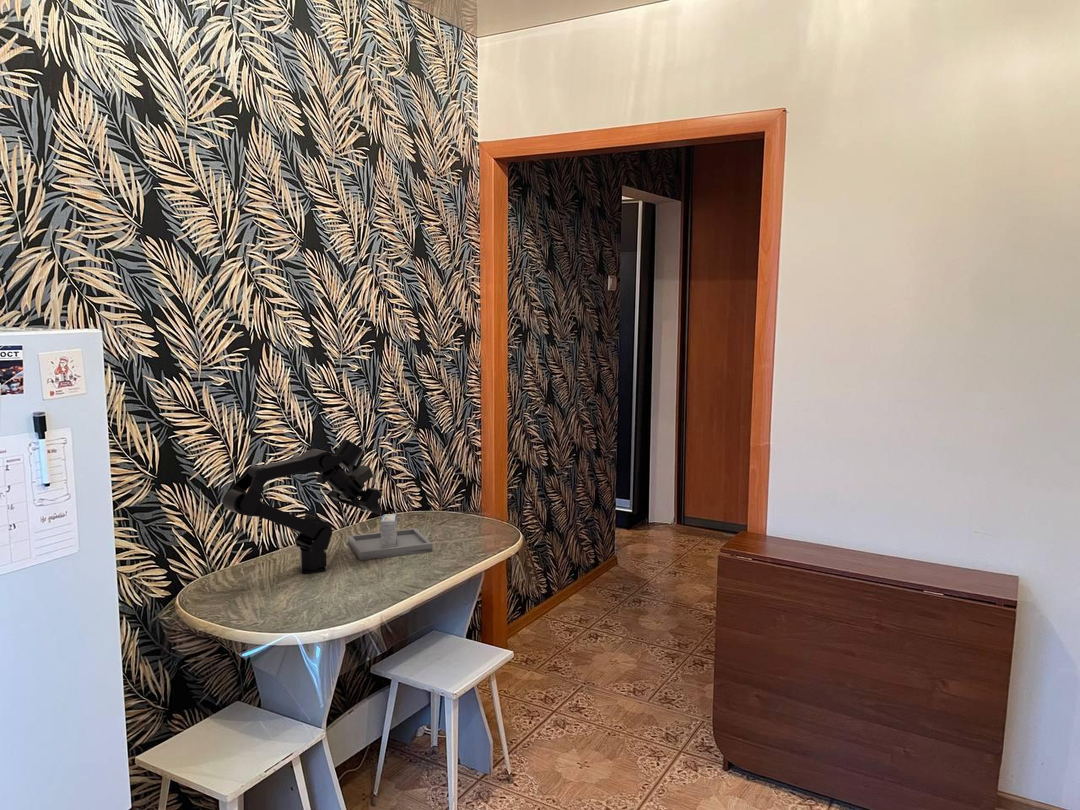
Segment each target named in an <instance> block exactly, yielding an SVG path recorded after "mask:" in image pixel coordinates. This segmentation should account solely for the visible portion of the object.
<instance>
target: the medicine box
mask: <svg viewBox="0 0 1080 810" xmlns="http://www.w3.org/2000/svg"><path fill="white" fill-rule="evenodd" d="M397 530H398V515H397V513H396V514H395V513H391V514H389V513H388V514H387V513H386V514H383V515H382V517H381V521H380V532H381V548H390V547H396V543H397Z"/></svg>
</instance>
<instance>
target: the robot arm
mask: <svg viewBox="0 0 1080 810" xmlns="http://www.w3.org/2000/svg"><path fill="white" fill-rule="evenodd" d="M363 453H364V450H363V449H362V448H361V447H360V446H359V445H357V444H355V443H354V442H352V441H351V440H350V439H345V438H344V439H343V440H342V441H341V444H340V445H339V446H338V448H337V449H336V450H335V452H330V451H326V450H323V449H318V448H313V449H309V450H307V451H305V452H302V453H301V454H300V455H299V456H296V457H292V458H288V459H283V460H279V461H276V462H275V461H274V462H271V463H266V464H261V465H253V466H251V467H250V468H249V469H248V470H247V471H246V472H245V474H244V475H243V476H241V478H239V479H238V480H236V482H235V483H234V484H233V485H232V487H231V488H230V489H229V490H227V492H226V493H225V494H224V496H223V498H222V505H223V508H225V510H227V511H230V512H232V513H235V514H239V515H242V516H246V517H247V516H248V517H255V518H256V517H258V518H262V519H264V520H266V521H270V522H272V523H275V524H277V525H280V526H284V527H286V528H289V529H291V530H294V531H295V532H297V533H298V535H297V537H296V538H295V539H294V543H295V545H296V547H297V548H299V565H298V568H299V570H300V572H301V574H303V575H305V574H309V573H310V574H311V573H317V572H318V573H319V572H320V573H321V572H325V571H326V570H327V569H326V567H327V566H328V565H327V552H326V551H327V550H328V548H329V544H330V541H331V538H332V536H333V527H332V525H330V524H329V521H327V520H324V519H322V518H319V517H318V516H314V515H311V514H309V513H305V514H304V517H300V516H297V515H294V514H291V513H289V512H286V511H283V510H281V509H278V508H275V507H273V506H270V505H268V504H266V503H265V502H264V501H262V500H261V499H260V498H261V496H262V494H263V489H264V485H265V484H266V483H267V481H272V480H276V479H280V478H283V477H284V478H285V477H289V476H292V475H296V474H300V473H317V474H316V480H315V482H316V483H318V484H322V485H326V483H328V484H329V485H330V486H331V487H332V488H331V489H332V490H331V491H330V493H329V497H330V498H332V500H333V501H335V502H336V501H337V502H338V503H342V504H345V505H347V506H352V507H353V508H354V507H355V508H357V509H360V510H365V511H368V512H371V513H375V514H378V515H382V514H383V509H382V506H381V505H380V501H379V500H380V499H381V497H382V496H383V493H382V491H381V490H379V489H378V488H374V487H368V488H366V490H363V489H364V488H365V486H366V484H365V483H366V482H367V481H369V480H370V479H373V478H374V476H375V475H374V473H373V470H372V469H371V467H370V466H367V465H362V464H361V465H360V464H359V465H358V466H357V465H356V463H357V461H358V460H359V459H360V457H361V456H362V455H363ZM345 469H348V472H347V471H346V470H345Z"/></svg>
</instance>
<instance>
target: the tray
mask: <svg viewBox="0 0 1080 810" xmlns="http://www.w3.org/2000/svg"><path fill="white" fill-rule="evenodd" d="M347 545H348V546H349V547H350V549H351V550H352V551H353V553H354V554H355V556H356V557H357V558H358V559H359V561H368V560H369V559H370V560H376V559H375V558H378V559H383V558H384V559H385V558H393V557H400V556H408V555H415V554H423V553H431V551H432V552H433V542H431V541H430V540H429V539H428V538H427V537H426V536H425V535H424V534H422V533H421V532H420V531H419V529H418V528H416V527H415V528H406V529H405V528H404V529H397V543H396V547H390V548H381V531H378V532H371V533H361V534H352V535H347Z"/></svg>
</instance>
